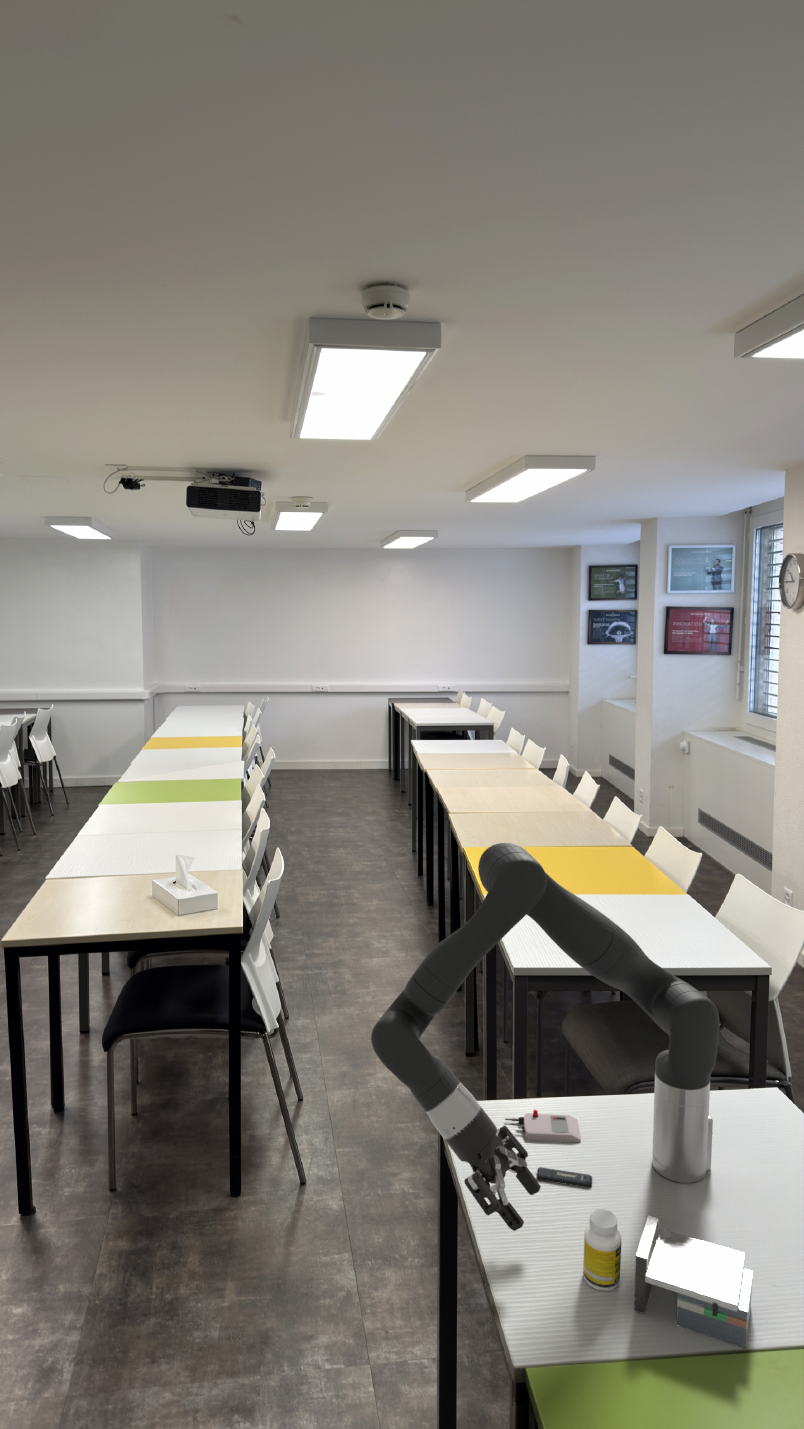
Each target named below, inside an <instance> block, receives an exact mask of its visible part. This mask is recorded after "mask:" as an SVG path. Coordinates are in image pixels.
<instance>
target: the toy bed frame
mask: <svg viewBox="0 0 804 1429" xmlns="http://www.w3.org/2000/svg"><path fill="white" fill-rule="evenodd" d="M745 1255H746V1254H745V1252H743V1251H742V1252H741V1251H739V1250H735V1249H732V1248H729V1247H725V1246H722V1245H718V1244H715V1243H712V1242H708V1241H705V1240H702V1239H698V1238H695V1237H691V1236H688V1235H686V1234H682V1233H677V1232H675V1231H671V1230H668V1229H665V1228H661V1227H659V1218H658V1217H655V1216H651V1215H650V1214H649V1215H647V1219H646V1221H645V1225H644V1228H643V1231H642V1234H641V1238H640V1240H639V1244H638V1247H637V1251H636V1254H635V1273H634V1275H635V1276H634V1277H635V1279H634V1280H635V1281H634V1302H633V1304H634V1305H633V1308H634V1309H633V1310H634V1311H636V1312H639V1313H641V1314H646V1312H647V1308H648V1304H649V1300H650V1296H651V1292H652V1290H653V1289H652V1288H653V1285H654V1286H656V1287H659V1288H662V1289H664V1290H665V1289H666V1290H669V1291H672V1292H675V1293H677V1294H678V1293H681V1294H684V1295H687V1296H690V1297H693V1298H696V1299H699V1300H702V1301H705V1302H708V1303H711V1304H713V1311H712V1315H713V1316H716V1317H717V1314H718V1306H721V1307H724V1308H727V1309H730V1310H733V1311H736V1312H737V1307H738V1300H739V1293H740V1286H741V1279H742V1272H743V1268H744V1263H745Z"/></svg>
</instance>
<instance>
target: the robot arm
mask: <svg viewBox="0 0 804 1429" xmlns="http://www.w3.org/2000/svg"><path fill="white" fill-rule="evenodd" d="M477 868H478V870H477V871H478V876H479V879H480V882H481V885H482V887H483V888H484V889H485V891H486V892H487V894H486V896H485V897H484V899H483V901H482V902H481V905H479V907H478V908H477V910H476V911H475V912H474V914H472V916H471V917H470V918H469V919H468V920H467V921H466V922H465V923H464V924H463V925H462V926H461V927H459V928H457V930H455V931H454V932H452V933H451V934H449V935H448V936H446V938H444V939H443V940H441V941H440V942H439V943H438V944H437V945H435V947H433V948H432V949H431V951H430V952H429V953H428V954H427V955H426V957H425V958H424V959H423V960H422V962H421V963H420V964H419V965H418V967H417V968H416V969H415V971H414V973H413V974H412V975H411V977H410V978H409V980H408V982H407V983H406V985H405V988H404V989H403V990H402V991H401V993H399V995H398V996H397V997H396V998H395V999H394V1001H393V1002H392V1003H391V1005H389V1007H388V1008H387V1009H386V1011H385V1012H384V1013H383V1014H382V1016H381V1017H380V1018H379V1019H378V1021H376V1024H375V1025H374V1026H373V1029H372V1030H371V1033H370V1034H371V1035H370V1040H371V1046H372V1048H373V1051H374V1052H375V1054H376V1056H377V1058H378V1059H379V1060H380V1062H381V1063H382V1064H383V1065H384V1067H386V1069H388V1071H389V1072H391V1073H392V1074H393V1075H394V1076H395V1078H397V1079H398V1080H399V1081H400V1082H401V1083H403V1085H404V1086H406V1087H407V1088H408V1089H409V1091H410V1092H411V1093H412V1095H413V1097H414V1098H415V1099H416V1101H417V1102H418V1103H419V1105H420V1106H421V1108H422V1109H423V1110H424V1111H425V1113H426V1114H427V1116H428V1117H429V1119H430V1121H431V1123H432V1124H433V1126H434V1127H435V1129H436V1130H437V1131H438V1133H439V1134H440V1135H441V1137H442V1138H443V1139H444V1141H445V1143H447V1145H448V1146H449V1148H451V1150H452V1152H453V1153H454V1154H455V1155H456V1157H457V1158H458V1159H459V1160H460V1162H463V1163H464V1162H465V1163H467V1164H469V1165H470V1168H471V1170H472V1173H471V1175H469V1176H468V1177H465V1178H464V1184H465V1186H466V1188H467V1189H468V1190H469V1192H470V1193H471V1195H472V1196H473V1198H474V1199H475V1201H476V1202H477V1203H478V1205H479V1206H480V1208H481V1209H482V1211H483V1212H484V1214H485V1215H486V1216H490V1215H492V1214H494V1213H497V1214H498V1215H499V1216H500V1217H501V1218H502V1220H503V1221H504V1223H505V1224H506V1225H507V1227H508V1228H509V1229H511V1230H512V1231H517V1230H520V1229H521V1228H522V1227H523V1226H524V1224H525V1221H524V1219H523V1218H522V1217H521V1216H520V1214H519V1213H518V1211H517V1210H516V1208H515V1207H514V1206H513V1205H512V1203H511V1202H509V1200H508V1197H507V1195H506V1191H505V1188H506V1182H505V1177H506V1175H507V1171H509V1172H511V1173H513V1174H515V1178H516V1179H517V1181H518V1182H520V1185H522V1187H523V1188H524V1190H525V1191H526V1192H527V1194H529V1195H531V1196H533V1195H535V1194H537V1193H538V1192H540V1190H541V1189H542V1188H541V1185H540V1183H539V1182H538V1180H537V1179H536V1178H537V1177H535V1175H533V1173H532V1172H531V1171H530V1169H529V1168H528V1167H527V1166H528V1162H527V1161H526V1160H527V1159H526V1158H528V1156H529V1153H528V1151H527V1150H526V1148H525V1147H524V1146H523V1145H522V1144H521V1142H520V1141H519V1140H518V1139H517V1138H516V1136H515V1135H514V1134H513V1133H512V1132H511V1130H510V1129H509V1128H508V1127H507V1126H506V1125H503V1126H501V1127H499V1128H497V1125H496V1124H495V1122H493V1121H492V1119H491V1117H490V1116H489V1115H488V1114H487V1112H486V1111H485V1110H484V1109H483V1107H482V1106H481V1105H480V1103H479V1102H478V1101H477V1099H476V1098H475V1097H474V1095H473V1094H472V1092H470V1091H469V1090H468V1089H467V1087H465V1086H464V1085H463V1083H462V1082H461V1081H460V1080H459V1078H458V1077H457V1076H456V1075H455V1073H454V1072H453V1071H452V1069H451V1068H450V1066H449V1065H447V1063H446V1062H445V1060H443V1059H442V1057H440V1056H438V1055H433V1054H432V1053H431V1052H430V1050H428V1048H427V1047H426V1046H425V1045H424V1043H423V1042H422V1041H421V1040H420V1038H422V1035H423V1034H424V1032H425V1031H426V1030H427V1028H428V1027H429V1025H430V1023H431V1022H432V1021H433V1019H434V1018H435V1016H436V1015H438V1014H439V1013H440V1012H442V1010H443V1009H444V1008H445V1007H446V1006H447V1004H448V1003H449V1001H450V1000H451V999H452V997H454V995H455V994H456V992H457V991H458V990H459V988H460V986H461V985H462V984H463V983H464V981H465V980H466V979H467V977H468V976H469V975H470V973H471V972H472V971H473V970H474V969H475V967H476V966H478V964H479V963H480V962H481V961H482V960H483V959H484V957H485V956H486V955H487V954H488V953H490V952H491V950H492V949H493V948H495V946H496V945H497V944H498V943H499V942H500V941H501V940H502V939H503V938H504V937H505V936H506V935H507V934H508V933H509V932H510V931H511V930H512V929H513V928H514V927H516V925H517V924H518V923H519V922H520V921H521V920H523V918H524V917H526V916H528V917H529V918H530V919H532V920H533V921H534V922H535V923H536V924H537V925H538V926H539V927H540V929H541V930H542V931H543V932H544V933H545V934H546V935H547V936H548V937H549V939H551V940H552V941H553V943H554V944H555V945H557V947H558V948H559V949H560V950H561V951H562V952H564V953H565V955H567V956H568V957H569V958H570V959H571V960H573V962H575V963H576V964H577V965H579V966H580V967H581V968H582V969H584V970H585V971H586V972H587V973H589V974H590V975H591V976H593V977H594V978H595V979H598V980H599V981H601V982H602V983H604V984H606V985H608V986H611V987H613V988H615V989H617V990H619V991H622V992H623V993H625V994H626V995H627V996H628V997H630V999H632V1000H633V1002H635V1003H636V1004H637V1006H639V1007H640V1008H641V1010H643V1011H644V1012H645V1013H646V1014H647V1016H648V1017H650V1019H651V1020H652V1021H653V1022H654V1023H655V1024H656V1025H657V1026H658V1028H660V1029H661V1030H662V1031H664V1033H666V1035H668V1037H669V1042H668V1044H669V1045H668V1049H665V1050H662V1051H661V1052H659V1053H658V1054H657V1056H656V1058H655V1062H654V1063H655V1065H654V1066H655V1067H654V1071H655V1072H654V1098H653V1121H652V1122H653V1125H652V1126H653V1127H652V1152H651V1153H652V1155H651V1156H652V1159H651V1164H652V1167H653V1168H654V1170H655V1171H656V1172H657V1173H658V1174H659V1175H661V1177H664V1178H666V1179H668V1180H671V1181H673V1182H677V1183H684V1184H687V1183H689V1184H691V1183H696V1182H698V1181H701V1180H702V1179H704V1177H705V1176H706V1174H707V1171H709V1170H712V1149H713V1148H712V1146H713V1126H714V1123H713V1122H714V1120H713V1118H712V1117H711V1116H710V1115H709V1114H710V1099H711V1098H710V1096H711V1095H710V1093H711V1075H712V1072H713V1070H714V1069H715V1066H716V1063H717V1058H718V1057H717V1056H718V1046H719V1036H720V1016H719V1011H718V1008H717V1006H716V1005H715V1003H714V1002H713V1001H712V1000H711V999H710V998H708V997H707V996H706V995H705V994H703V993H702V992H701V991H699V990H698V989H697V988H695V987H694V986H692V985H691V984H689V983H688V982H686V981H684V980H682V979H681V978H679V977H677V976H676V975H673V974H672V973H671V972H669V971H667V970H665V969H664V968H663V967H662V966H659V965H658V964H657V963H655V962H654V961H653V960H652V959H650V957H649V956H648V955H647V954H646V953H645V952H644V950H643V949H642V948H641V947H640V945H639V944H638V943H637V942H636V941H635V940H634V939H633V937H632V936H630V935H629V934H628V933H627V932H626V931H625V930H624V929H623V928H621V927H620V926H619V925H618V924H617V923H615V922H614V921H613V920H612V919H611V918H609V917H608V916H606V915H605V914H603V913H602V912H601V911H600V910H598V909H597V908H595V907H594V906H592V905H591V904H590V903H588V902H586V901H585V900H584V899H582V898H581V897H579V896H577V895H576V894H575V893H573V892H571V891H569V890H568V889H566V888H565V887H563V886H562V885H560V884H559V883H558V882H557V881H556V880H554V878H552V877H551V876H550V875H549V874H548V873H547V872H546V871H545V868H544V867H543V866H542V865H541V863H540V862H539V861H537V860H536V858H534V856H533V855H532V854H530V853H529V852H528V851H527V850H526V849H525V848H523V847H522V846H520V845H517V844H514V843H510V842H500V843H499V842H498V843H495V844H493V845H490V846H489V847H487V848H486V849H485V850H484V851H483V853H482V854H481V855H480V858H479V860H478V867H477ZM514 1149H515V1150H516V1151H517V1153H516V1152H515V1151H514ZM491 1184H493V1185H492V1186H491ZM496 1193H497V1196H498V1198H497V1197H496ZM485 1198H487V1199H488V1201H489V1203H488V1202H487V1200H486V1199H485Z"/></svg>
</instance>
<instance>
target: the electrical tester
mask: <svg viewBox="0 0 804 1429" xmlns="http://www.w3.org/2000/svg"><path fill="white" fill-rule="evenodd" d="M538 1111H539V1110H537V1109H534V1110H533V1111H532V1113H530V1112H529V1113H525V1114H524V1116H520V1117H516V1118H513V1117H512V1118H504V1120H505V1121H511V1122H518V1123H520V1124H523V1126H518V1127H517V1128H518V1129H515V1130H514V1131H515V1132H516V1133H517V1132H519V1133H524V1137H525V1138H526V1139H527V1140H529V1141H530V1140H531V1141H549V1142H568V1143H581V1141H582V1139H581V1133H580V1132H581V1131H580V1128H579V1127H580V1126H579V1121H578V1119H577V1118H576V1117H574V1116H572V1115H568V1114H553V1113H538Z"/></svg>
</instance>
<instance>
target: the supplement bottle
mask: <svg viewBox="0 0 804 1429" xmlns="http://www.w3.org/2000/svg"><path fill="white" fill-rule="evenodd" d="M583 1235H584V1236H583V1237H584V1238H583V1239H584V1241H583V1260H582V1261H583V1263H582V1265H583V1266H582V1276H583V1278H584V1281H585V1283H586V1284H587V1285H589V1286H590V1287H591V1288H593V1289H595V1290H598V1291H612V1290H615V1289H617V1287H618V1286H619V1284H620V1280H621V1265H622V1264H621V1263H622V1262H621V1261H622V1235H621V1233H620V1231H619V1229H618V1218H617V1216H616V1214H615V1213H613V1212H612V1211H610V1210H607V1209H601V1208H600V1209H595V1210H593V1211H591V1213H590V1215H589V1224H588V1225H587V1226H586V1227H585V1230H584V1234H583Z"/></svg>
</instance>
